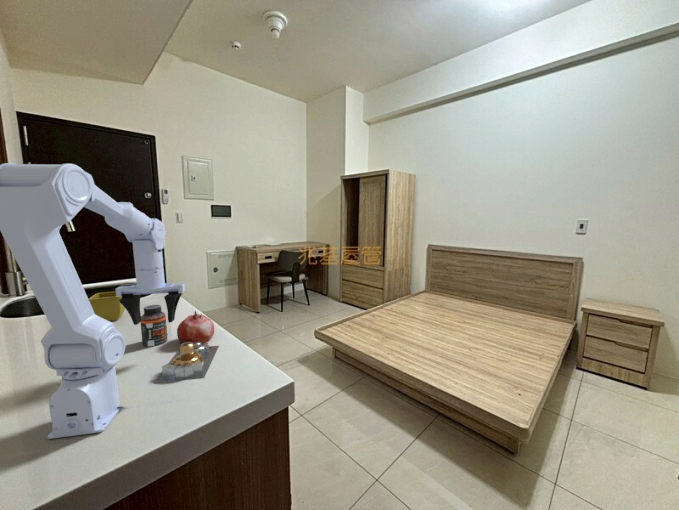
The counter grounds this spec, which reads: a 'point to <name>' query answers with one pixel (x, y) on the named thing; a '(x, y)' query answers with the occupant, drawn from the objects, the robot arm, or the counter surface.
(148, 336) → the supplement bottle
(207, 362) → the carrier plate
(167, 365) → the ring gear segment
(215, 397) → the counter surface
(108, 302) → the flower pot
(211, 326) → the fruit
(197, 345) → the sun gear
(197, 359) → the planet gear
